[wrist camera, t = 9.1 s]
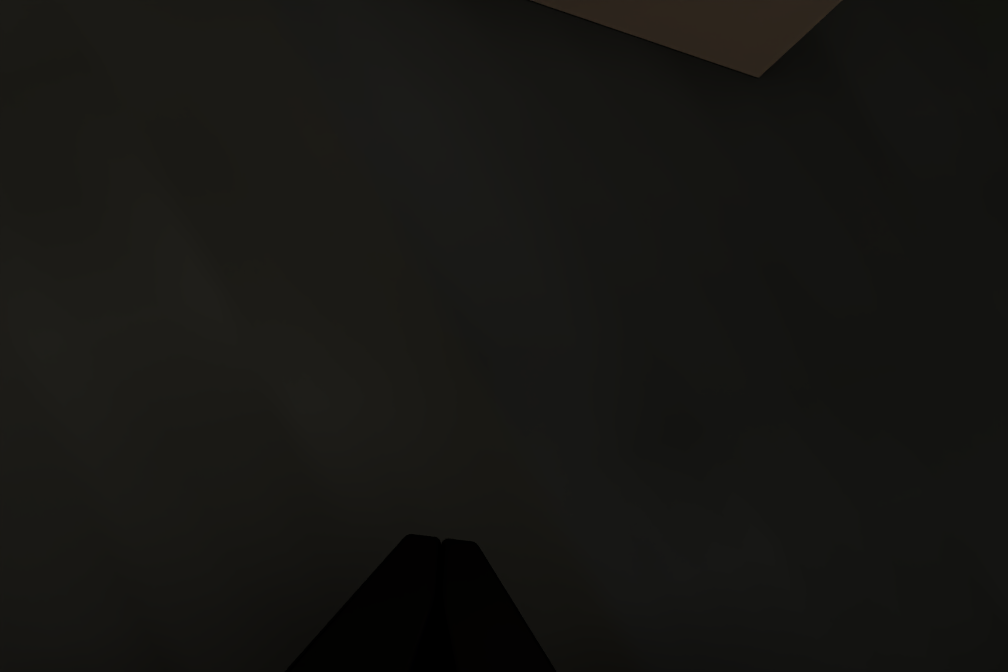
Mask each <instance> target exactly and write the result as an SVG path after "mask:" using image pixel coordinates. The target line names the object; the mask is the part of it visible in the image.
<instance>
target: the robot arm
mask: <svg viewBox="0 0 1008 672" xmlns="http://www.w3.org/2000/svg"><path fill="white" fill-rule="evenodd" d="M285 672H556V670H555V669H554V667H553V666H552V664H551V662H550V661H549V659H548V657H547V656H546V654H545V653H544V651H543V649H542V648H541V646H540V644H539V643H538V641H537V640H536V638H535V636H534V635H533V633H532V632H531V630H530V628H529V627H528V625H527V623H526V622H525V620H524V619H523V617H522V615H521V614H520V612H519V611H518V609H517V607H516V606H515V604H514V602H513V601H512V599H511V598H510V596H509V594H508V593H507V591H506V590H505V588H504V586H503V585H502V583H501V581H500V580H499V578H498V577H497V575H496V573H495V572H494V570H493V569H492V567H491V565H490V564H489V562H488V560H487V559H486V557H485V556H484V554H483V552H482V551H481V549H480V548H479V546H478V545H477V544H476V543H475V542H472V541H464V540H456V539H445V540H443V542H442V544H441V542H440V540H439V539H438V538H437V537H431V536H423V535H415V534H409V535H407V536H405V537H404V538H403V539H402V540H401V542H400V543H399V544H398V545H397V546H396V547H395V548H394V549H393V551H392V552H391V553H390V554H389V555H388V556H387V557H386V558H385V559H384V561H383V562H382V563H381V564H380V565H379V566H378V567H377V568H376V570H375V571H374V572H373V573H372V574H371V575H370V576H369V577H368V579H367V580H366V581H365V582H364V583H363V584H362V585H361V586H360V588H359V589H358V590H357V591H356V592H355V593H354V594H353V595H352V597H351V598H350V599H349V600H348V601H347V602H346V603H345V604H344V606H343V607H342V608H341V609H340V610H339V611H338V612H337V613H336V615H335V616H334V617H333V618H332V619H331V620H330V621H329V622H328V624H327V625H326V626H325V627H324V628H323V629H322V630H321V631H320V633H319V634H318V635H317V636H316V637H315V638H314V639H313V640H312V642H311V643H310V644H309V645H308V646H307V647H306V648H305V649H304V650H303V652H302V653H301V654H300V655H299V656H298V657H297V658H296V659H295V661H294V662H293V663H292V664H291V665H290V666H289V667H288V668H287V670H286V671H285Z"/></svg>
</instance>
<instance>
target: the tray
mask: <svg viewBox="0 0 1008 672" xmlns="http://www.w3.org/2000/svg"><path fill="white" fill-rule="evenodd" d="M531 1H534V2H537V3H540V4H543V5H546V6H549V7H551V8H554V9H557V10H560V11H563V12H566V13H569V14H572V15H575V16H578V17H581V18H584V19H587V20H590V21H593V22H596V23H599V24H601V25H604V26H607V27H610V28H613V29H616V30H619V31H622V32H625V33H628V34H631V35H634V36H637V37H640V38H643V39H646V40H649V41H651V42H654V43H657V44H660V45H663V46H666V47H669V48H672V49H675V50H678V51H681V52H684V53H687V54H690V55H693V56H696V57H699V58H701V59H704V60H707V61H710V62H713V63H716V64H719V65H722V66H725V67H728V68H731V69H734V70H737V71H740V72H743V73H746V74H749V75H752V76H754V77H757V78H759V77H760V76H761V75H762V74H763V73H764V72H765V71H766V70H767V69H769V68H770V67H771V66H772V65H773V64H774V63H775V62H776V61H777V60H778V59H779V58H780V57H781V56H783V55H784V54H785V53H786V52H787V51H788V50H789V49H790V48H791V47H792V46H793V45H794V44H795V43H797V42H798V41H799V40H800V39H801V38H802V37H803V36H804V35H805V34H806V33H807V32H808V31H810V30H811V29H812V28H813V27H814V26H815V25H816V24H817V23H818V22H819V21H820V20H821V19H822V18H824V17H825V16H826V15H827V14H828V13H829V12H830V11H831V10H832V9H833V8H834V7H835V6H836V5H838V4H839V3H840V2H841V1H842V0H531Z"/></svg>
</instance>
